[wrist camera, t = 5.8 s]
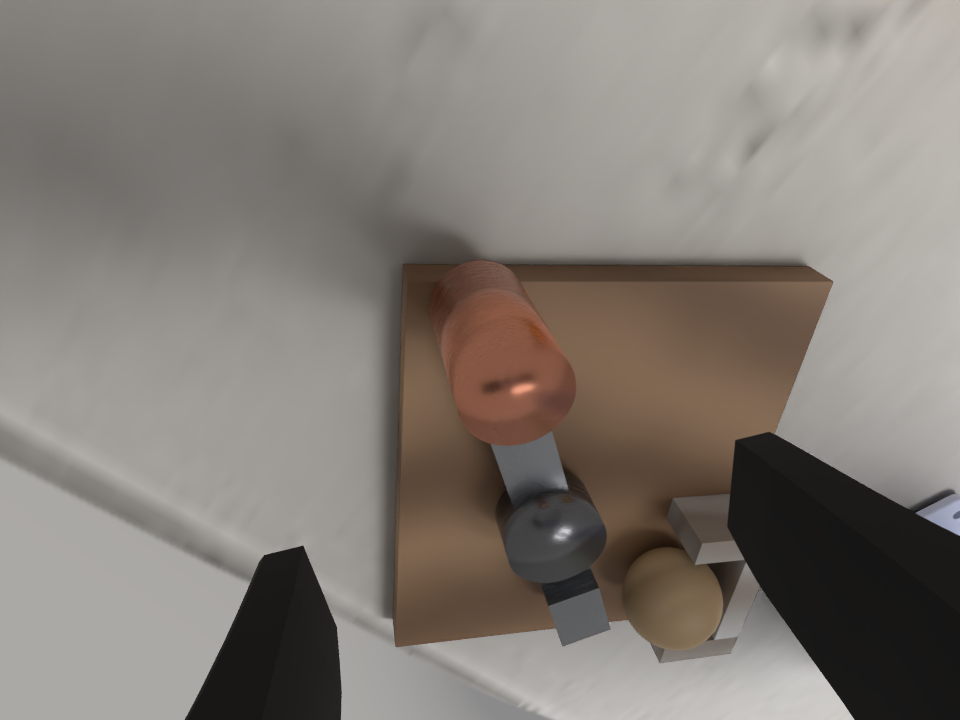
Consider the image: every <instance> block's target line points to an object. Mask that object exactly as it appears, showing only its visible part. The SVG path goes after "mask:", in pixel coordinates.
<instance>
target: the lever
mask: <svg viewBox="0 0 960 720" xmlns="http://www.w3.org/2000/svg"><path fill="white" fill-rule="evenodd" d="M429 312H430V318H431V321H432V325H433V328H434V332H435V335H436V338H437V342H438V345H439V349H440V352H441V356H442V359H443V363H444V366H445V370H446V373H447V377H448V380H449V383H450V387H451V390H452V394H453V397H454V401H455V404H456V408H457V411H458V415H459V418H460V420H461V422H462V424H463V425H464V427H465V428H466V429H467V430H468V431H469V432H470V433H471V434H472V435H473V436H475V437H476V438H478V439H480V440H482V441H484V442H487V443H490V444H491V446H492V449H493V452H494V455H495V457H496V460H497V463H498V466H499V469H500V471H501V474H502V477H503V480H504V483H505V485H506V488H507V489H506V490H505V491H504V493H503V494H502V495H501V497H500V499H499V501H498V503H497V506H496V512H495V516H496V521H497V525H498V528H499V531H500V535H501V538H502V541H503V545H504V548H505V551H506V555H507V558H508V561H509V565H510V567H511V568H512V570H513V571H514V572H515V573H516V574H517V575H518V576H520V577H521V578H523V579H525V580H528V581H531V582H537V583H540V584H541V587H542V589H543V592H544V595H545V598H546V601H547V604H548V607H549V610H550V613H551V615H552V618H553V621H554V624H555V627H556V629H557V632H558V635H559V638H560V641H561V643H562V646H565V645H568V644H571V643H573V642H576V641H579V640H582V639H585V638H587V637H590V636H593V635H596V634H598V633H601V632H604V631H607V630H610V625H609V622H608V618H607V615H606V611H605V607H604V604H603V600H602V597H601V593H600V589H599V587H598V584H597V582H596V580H595V577H594V575H593V573H592V571H591V568H590V566H591V565H592V564H593V563H594V562H595V561H596V560H597V559H598V557H599V556H600V555H601V553H602V551H603V549H604V547H605V544H606V540H607V532H606V528H605V525H604V523H603V521H602V519H601V517H600V515H599V513H598V511H597V509H596V507H595V505H594V503H593V501H592V499H591V497H590V495H589V493H588V491H587V489H586V487H585V485H584V483H583V482H582V481H581V480H580V479H579V478H578V477H577V476H575V475H573V474H571V473H569V472H566V471H563V468H562V465H561V461H560V458H559V454H558V450H557V447H556V443H555V440H554V436H553V433H552V430H553V429H554V428H555V427H557V426H558V425H559V424H560V423H561V422H562V421H563V419H564V418H565V417H566V415H567V414H568V412H569V411H570V409H571V407H572V404H573V402H574V399H575V395H576V378H575V374H574V371H573V369H572V367H571V365H570V363H569V362H568V360H567V358H566V357H565V355H564V353H563V352H562V350H561V348H560V347H559V345H558V343H557V342H556V340H555V338H554V337H553V335H552V334H551V332H550V330H549V329H548V327H547V325H546V324H545V322H544V320H543V319H542V317H541V315H540V314H539V312H538V310H537V309H536V307H535V306H534V304H533V302H532V301H531V299H530V297H529V296H528V294H527V292H526V291H525V289H524V287H523V286H522V284H521V282H520V281H519V279H518V278H517V277H516V275H515V274H514V273H513V272H512V271H511V270H509V269H508V268H507V267H505V266H503V265H501V264H499V263H496V262H492V261H486V260H476V261H470V262H466V263H463V264H461V265H458V266H456V267H455V268H453V269H451V270H450V271H449V272H447V273H446V274H445V275H444V276H443V277H442V278H441V279H440V280H439V282H438V283H437V285H436V286H435V288H434V290H433V292H432V295H431V298H430V304H429Z"/></svg>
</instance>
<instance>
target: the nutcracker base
mask: <svg viewBox="0 0 960 720" xmlns="http://www.w3.org/2000/svg"><path fill="white" fill-rule="evenodd" d="M456 266H458V265H448V264H403V280H402V315H401V351H400V387H399V423H398V458H397V494H396V530H395V566H394V602H393V626H394V636H395V646H396V647H401V646H409V645H418V644H426V643H435V642H443V641H452V640H460V639H469V638H477V637H486V636H494V635H502V634H511V633H519V632H528V631H536V630H545V629H553V628H556V627H555V624H554V621H553V618H552V615H551V613H550V610H549V607H548V604H547V601H546V598H545V595H544V592H543V589H542V587H541V584H540V583H537V582H531V581H528V580H525V579H523V578H521V577H520V576H518V575H517V574H516V573H515V572H514V571H513V570H512V568H511V567H510V565H509V561H508V558H507V555H506V551H505V548H504V545H503V541H502V538H501V535H500V531H499V528H498V525H497V521H496V516H495V512H496V506H497V503H498V501H499V499H500V497H501V495H502V494H503V493H504V491H505V490H506V489H507V488H506V485H505V483H504V480H503V477H502V474H501V471H500V469H499V466H498V463H497V460H496V457H495V455H494V452H493V449H492V446H491V444H490V443H487V442H484V441H482V440H480V439H478V438H476V437H475V436H473V435H472V434H471V433H470V432H469V431H468V430H467V429H466V428H465V427H464V425H463V424H462V422H461V420H460V418H459V415H458V411H457V408H456V404H455V401H454V397H453V394H452V390H451V387H450V383H449V380H448V377H447V373H446V370H445V366H444V363H443V359H442V356H441V352H440V349H439V345H438V342H437V338H436V335H435V332H434V328H433V325H432V321H431V318H430V312H429V304H430V298H431V295H432V292H433V290H434V288H435V286H436V285H437V283H438V282H439V280H440V279H441V278H442V277H443V276H444V275H445V274H446V273H447V272H449V271H450V270H451V269H453V268H455V267H456ZM503 266H505V267H507V268H508V269H509V270H511V271H512V272H513V273H514V274H515V275H516V277H517V278H518V279H519V281H520V282H521V284H522V286H523V287H524V289H525V291H526V292H527V294H528V296H529V297H530V299H531V301H532V302H533V304H534V306H535V307H536V309H537V310H538V312H539V314H540V315H541V317H542V319H543V320H544V322H545V324H546V325H547V327H548V329H549V330H550V332H551V334H552V335H553V337H554V338H555V340H556V342H557V343H558V345H559V347H560V348H561V350H562V352H563V353H564V355H565V357H566V358H567V360H568V362H569V363H570V365H571V367H572V369H573V371H574V374H575V378H576V395H575V399H574V402H573V404H572V407H571V409H570V411H569V412H568V414H567V415H566V417H565V418H564V419H563V421H562V422H561V423H560V424H559V425H558V426H557V427H555V428H554V429H553V430H552V433H553V436H554V440H555V443H556V447H557V450H558V454H559V458H560V461H561V465H562V468H563V471H566V472H569V473H571V474H573V475H575V476H577V477H578V478H579V479H580V480H581V481H582V482H583V483H584V485H585V487H586V489H587V491H588V493H589V495H590V497H591V499H592V501H593V503H594V505H595V507H596V509H597V511H598V513H599V515H600V517H601V519H602V521H603V523H604V525H605V528H606V532H607V540H606V544H605V547H604V549H603V551H602V553H601V555H600V556H599V557H598V559H597V560H596V561H595V562H594V563H593V564H592V565H591V566H590V568H591V571H592V573H593V575H594V577H595V580H596V582H597V584H598V587H599V589H600V593H601V597H602V600H603V604H604V607H605V611H606V615H607V618H608V622H613V621H621V620H628V618H627V616H626V613H625V610H624V607H623V602H622V586H623V581H624V578H625V575H626V573H627V571H628V569H629V567H630V566H631V565H632V563H633V562H634V561H635V560H636V559H637V558H638V557H639V556H641V555H642V554H644V553H646V552H648V551H650V550H652V549H656V548H661V547H673V548H680V549H683V550H686V551H687V553H688V555H689V556H690V558H691V560H692V561H693V563H694V564H695V565H699V564H707V565H708V566H709V567H710V569H711V570H712V571H713V573H714V574H715V576H716V578H717V580H718V582H719V585H720V588H721V591H722V596H723V611H722V616H721V620H720V622H719V625H718V627H717V628H716V630H715V632H714V633H713V634H712V635H711V636H710V637H709V638H708V639H707V640H706V641H705V642H704V643H702V644H700V645H698V646H696V647H694V648H691V649H687V650H668V649H664V648H661V647H658V646H656V645H654V644H652V643H650V644H651V646H652V648H653V650H654V652H655V654H656V656H657V658H658V660H659V663H664V662H672V661H679V660H687V659H694V658H702V657H709V656H716V655H724V654H731V651H732V649H733V647H734V645H735V642H736V640H737V638H738V635H739V633H740V631H741V629H742V626H743V624H744V622H745V619H746V617H747V615H748V613H749V610H750V608H751V606H752V603H753V601H754V599H755V597H756V594H757V592H758V590H759V587H760V585H759V584H758V582H757V581H756V579H755V577H754V576H753V574H752V572H751V570H750V568H749V567H748V565H747V563H746V561H745V560H744V558H743V556H742V554H741V552H740V550H739V548H738V546H737V545H736V543H735V541H734V539H733V537H732V535H731V533H730V531H729V529H728V527H727V522H728V511H729V501H730V490H731V479H732V469H733V458H734V447H735V440H737V439H742V438H746V437H750V436H754V435H758V434H762V433H766V432H771V433H773V434H775V431H776V429H777V426H778V423H779V421H780V418H781V416H782V413H783V411H784V408H785V405H786V403H787V400H788V398H789V395H790V393H791V390H792V387H793V385H794V382H795V380H796V377H797V374H798V372H799V369H800V367H801V364H802V362H803V359H804V356H805V354H806V351H807V349H808V346H809V343H810V341H811V338H812V336H813V333H814V331H815V328H816V325H817V323H818V320H819V318H820V315H821V313H822V310H823V307H824V305H825V302H826V300H827V297H828V294H829V292H830V289H831V287H832V284H833V281H832V280H830V279H828V278H827V277H825V276H824V275H822V274H820V273H819V272H817V271H816V270H814V269H812V268H811V267H809V266H629V265H503Z"/></svg>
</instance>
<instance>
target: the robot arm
mask: <svg viewBox="0 0 960 720" xmlns="http://www.w3.org/2000/svg"><path fill="white" fill-rule="evenodd" d="M727 527H728V529H729V531H730V533H731V535H732V537H733V539H734V541H735V543H736V545H737V546H738V548H739V550H740V552H741V554H742V556H743V558H744V560H745V561H746V563H747V565H748V567H749V568H750V570H751V572H752V574H753V576H754V577H755V579H756V581H757V582H758V584H759V585H760V587H761V588H762V590H763V591H764V592H765V594H766V595H767V597H768V598H769V600H770V601H771V602H772V604H773V605H774V607H775V608H776V610H777V611H778V612H779V614H780V615H781V617H782V618H783V619H784V621H785V622H786V624H787V625H788V626H789V628H790V629H791V631H792V632H793V633H794V635H795V636H796V638H797V639H798V640H799V642H800V643H801V645H802V646H803V647H804V649H805V650H806V652H807V653H808V654H809V656H810V657H811V658H812V660H813V661H814V663H815V664H816V665H817V667H818V668H819V670H820V671H821V672H822V674H823V675H824V677H825V678H826V679H827V681H828V682H829V684H830V685H831V686H832V688H833V689H834V691H835V692H836V693H837V695H838V696H839V697H840V699H841V700H842V702H843V703H844V704H845V706H846V708H847V709H848V711H849V712H850V714H851V715H852V717H853V718H854V720H960V494H952V495H950V496H948V497H946V498H944V499H942V500H940V501H938V502H936V503H934V504H932V505H930V506H928V507H926V508H924V509H922V510H920V511H918V512H916V513H914V512H912V511H910V510H908V509H907V508H905V507H903V506H901V505H899V504H897V503H895V502H894V501H892V500H890V499H888V498H886V497H885V496H883V495H881V494H879V493H877V492H875V491H874V490H872V489H870V488H868V487H866V486H865V485H863V484H861V483H859V482H858V481H856V480H854V479H852V478H851V477H849V476H847V475H845V474H844V473H842V472H840V471H838V470H837V469H835V468H833V467H831V466H830V465H828V464H826V463H824V462H823V461H821V460H819V459H817V458H816V457H814V456H812V455H810V454H809V453H807V452H805V451H803V450H802V449H800V448H798V447H796V446H795V445H793V444H791V443H789V442H788V441H786V440H784V439H782V438H780V437H778V436H777V435H775V434H773V433H771V432H766V433H762V434H758V435H754V436H750V437H746V438H742V439H737V440H735V447H734V458H733V469H732V479H731V490H730V501H729V511H728V522H727ZM341 692H342V691H341V676H340V661H339V649H338V637H337V627H336V624H335V622H334V619H333V617H332V614H331V612H330V609H329V607H328V605H327V602H326V600H325V597H324V595H323V593H322V590H321V588H320V585H319V583H318V580H317V578H316V576H315V573H314V571H313V568H312V566H311V563H310V561H309V559H308V556H307V554H306V551H305V549H304V547H303V546H300V547H296V548H292V549H288V550H284V551H280V552H275V553H271V554H267V555H264V556H263V558H262V559H261V560H260V562H259V564H258V566H257V569H256V571H255V573H254V576H253V578H252V580H251V583H250V585H249V587H248V590H247V592H246V594H245V597H244V599H243V601H242V604H241V606H240V609H239V610H238V613H237V615H236V617H235V620H234V622H233V624H232V626H231V628H230V630H229V632H228V634H227V637H226V639H225V641H224V643H223V645H222V647H221V649H220V651H219V653H218V655H217V657H216V660H215V662H214V664H213V666H212V668H211V670H210V672H209V674H208V676H207V678H206V680H205V682H204V684H203V686H202V688H201V690H200V692H199V694H198V696H197V698H196V700H195V702H194V704H193V705H192V707H191V709H190V711H189V713H188V715H187V717H186V718H185V720H341Z"/></svg>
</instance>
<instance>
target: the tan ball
mask: <svg viewBox="0 0 960 720" xmlns="http://www.w3.org/2000/svg"><path fill="white" fill-rule="evenodd" d="M622 602H623V607H624V610H625V613H626V616H627V618H628V620H629V621H630V623H631V625H632V626H633V628H634V629H635V630H636V631H637V632H638V633H639V634H640V635H641V636H642V637H643V638H644V639H646V640H647V641H648V642H650V643H652V644H654V645H656V646H658V647H661V648H664V649H668V650H687V649H691V648H694V647H696V646H698V645H700V644H702V643H704V642H705V641H706V640H707V639H708V638H709V637H710V636H711V635H712V634H713V633H714V632H715V630H716V628H717V627H718V625H719V622H720V620H721V616H722V611H723V596H722V591H721V588H720V585H719V582H718V580H717V578H716V576H715V574H714V573H713V571H712V570H711V569H710V567H709V566H708V565H707V564H699V565H695V564H694V563H693V561H692V560H691V558H690V556H689V555H688V553H687V551H686V550H683V549H680V548H673V547H661V548H656V549H652V550H650V551H648V552H646V553H644V554H642V555H641V556H639V557H638V558H637V559H636V560H635V561H634V562H633V563H632V565H631V566H630V567H629V569H628V571H627V573H626V575H625V578H624V581H623V586H622Z"/></svg>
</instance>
